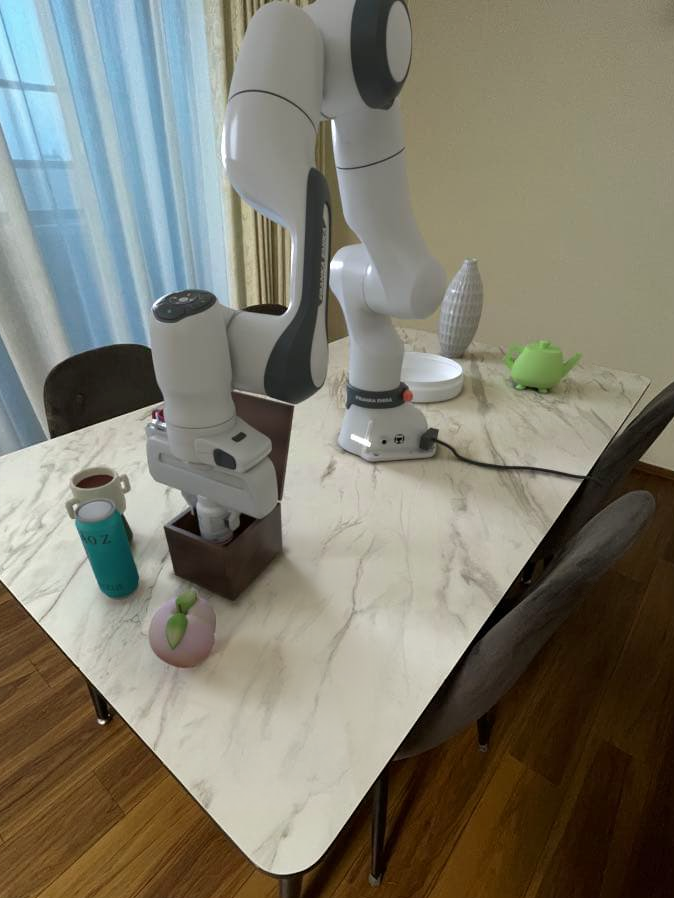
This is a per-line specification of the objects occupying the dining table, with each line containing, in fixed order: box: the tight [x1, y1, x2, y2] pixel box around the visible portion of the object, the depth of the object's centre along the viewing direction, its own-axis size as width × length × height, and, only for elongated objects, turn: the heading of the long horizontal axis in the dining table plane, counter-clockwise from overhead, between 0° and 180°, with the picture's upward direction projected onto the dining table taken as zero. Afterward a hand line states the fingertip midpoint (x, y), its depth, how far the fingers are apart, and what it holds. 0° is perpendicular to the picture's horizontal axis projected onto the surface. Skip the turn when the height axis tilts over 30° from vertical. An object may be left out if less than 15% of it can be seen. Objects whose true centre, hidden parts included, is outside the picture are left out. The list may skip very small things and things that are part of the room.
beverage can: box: [74, 499, 140, 601], centre depth 67 cm, size 6×6×15 cm
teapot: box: [502, 339, 583, 394], centre depth 134 cm, size 20×13×13 cm
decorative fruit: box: [147, 588, 218, 669], centre depth 59 cm, size 9×8×10 cm
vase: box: [438, 258, 484, 359], centre depth 151 cm, size 13×13×28 cm
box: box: [162, 501, 283, 603], centre depth 73 cm, size 14×12×10 cm
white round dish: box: [401, 351, 464, 404], centre depth 136 cm, size 27×27×6 cm
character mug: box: [64, 466, 134, 545], centre depth 76 cm, size 11×7×13 cm, turn 142°
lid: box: [231, 390, 295, 502], centre depth 72 cm, size 14×12×1 cm
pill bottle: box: [196, 495, 233, 545], centre depth 68 cm, size 5×5×8 cm
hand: (215, 520), depth 69 cm, fingers closed on pill bottle, 5 cm apart
